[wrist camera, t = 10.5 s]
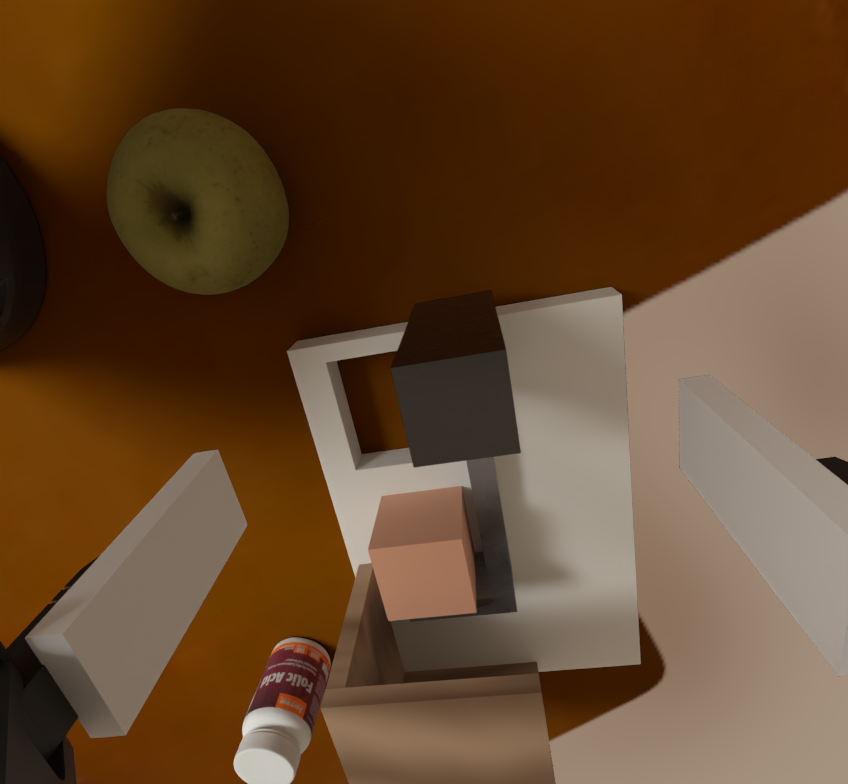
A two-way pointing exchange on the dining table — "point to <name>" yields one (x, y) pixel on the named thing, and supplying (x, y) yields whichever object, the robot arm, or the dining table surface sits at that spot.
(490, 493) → the grey u-shaped bracket
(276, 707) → the pill bottle
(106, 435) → the dining table surface
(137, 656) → the robot arm
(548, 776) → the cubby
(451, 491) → the cube
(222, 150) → the apple
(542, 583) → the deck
